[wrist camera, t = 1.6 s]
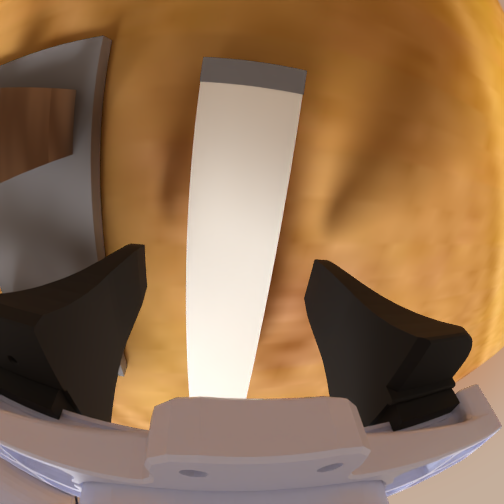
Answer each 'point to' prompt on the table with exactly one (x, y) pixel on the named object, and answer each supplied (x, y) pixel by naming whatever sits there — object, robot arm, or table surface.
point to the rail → (236, 214)
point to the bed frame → (51, 164)
